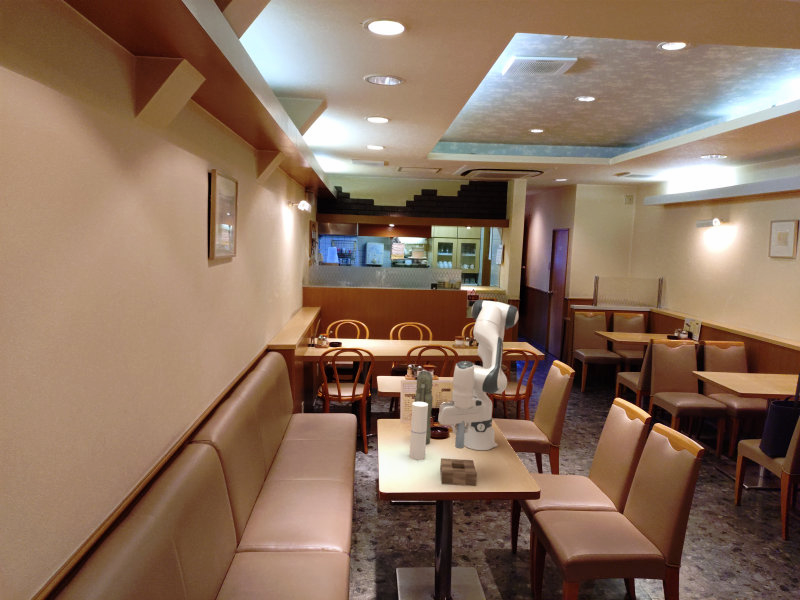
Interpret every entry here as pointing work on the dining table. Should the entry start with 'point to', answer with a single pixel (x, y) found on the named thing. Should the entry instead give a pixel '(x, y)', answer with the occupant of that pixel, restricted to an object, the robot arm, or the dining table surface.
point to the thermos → (425, 396)
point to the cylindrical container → (418, 430)
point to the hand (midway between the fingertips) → (460, 432)
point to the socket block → (458, 472)
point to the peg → (460, 435)
